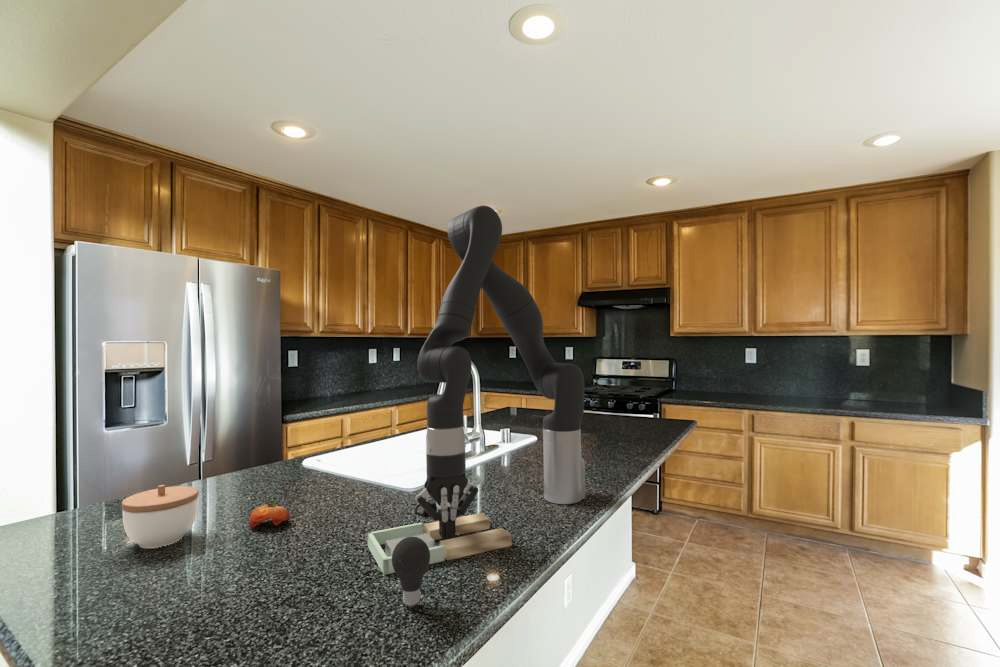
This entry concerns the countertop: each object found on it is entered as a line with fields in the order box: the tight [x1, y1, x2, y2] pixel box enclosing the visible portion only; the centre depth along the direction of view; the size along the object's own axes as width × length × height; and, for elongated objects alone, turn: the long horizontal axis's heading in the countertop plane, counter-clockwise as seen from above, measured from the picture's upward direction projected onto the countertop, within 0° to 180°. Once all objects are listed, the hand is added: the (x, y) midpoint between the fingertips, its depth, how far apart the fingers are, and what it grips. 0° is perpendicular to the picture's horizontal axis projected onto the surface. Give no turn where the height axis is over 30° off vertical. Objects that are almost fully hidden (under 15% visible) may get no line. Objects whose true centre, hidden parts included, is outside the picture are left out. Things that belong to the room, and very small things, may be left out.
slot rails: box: [422, 512, 513, 561], centre depth 95 cm, size 13×14×2 cm
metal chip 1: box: [384, 537, 407, 557], centre depth 89 cm, size 4×4×2 cm
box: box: [366, 522, 446, 576], centre depth 90 cm, size 11×13×2 cm
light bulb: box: [392, 537, 430, 608], centre depth 72 cm, size 6×6×10 cm
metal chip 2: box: [410, 533, 435, 548], centre depth 90 cm, size 4×4×2 cm
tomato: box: [248, 499, 291, 532], centre depth 104 cm, size 8×7×7 cm
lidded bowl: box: [121, 484, 200, 550], centre depth 97 cm, size 13×13×11 cm
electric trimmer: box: [414, 491, 464, 518], centre depth 115 cm, size 4×16×3 cm, turn 138°
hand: (447, 538), depth 94 cm, fingers closed
